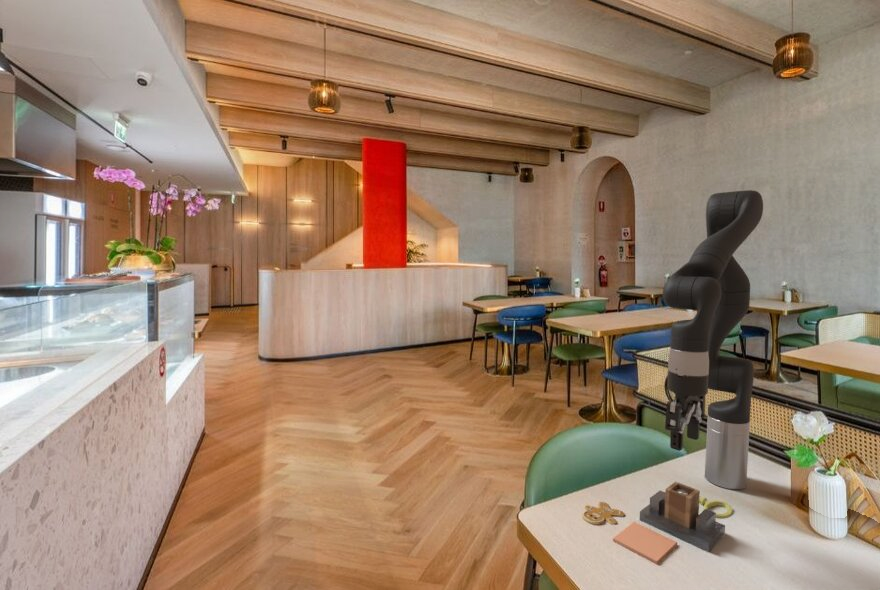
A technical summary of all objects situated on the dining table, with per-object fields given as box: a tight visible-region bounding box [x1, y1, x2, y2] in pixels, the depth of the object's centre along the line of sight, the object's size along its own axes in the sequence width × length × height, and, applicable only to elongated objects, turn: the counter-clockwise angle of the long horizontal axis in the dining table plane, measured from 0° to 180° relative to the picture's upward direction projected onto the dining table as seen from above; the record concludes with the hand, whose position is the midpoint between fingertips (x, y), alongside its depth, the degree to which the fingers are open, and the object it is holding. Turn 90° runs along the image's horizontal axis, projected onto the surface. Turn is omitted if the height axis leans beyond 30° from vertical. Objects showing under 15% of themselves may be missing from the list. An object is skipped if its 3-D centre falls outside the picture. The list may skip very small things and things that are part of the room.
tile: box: [612, 521, 678, 565], centre depth 89 cm, size 9×9×1 cm
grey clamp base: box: [639, 489, 726, 553], centre depth 94 cm, size 9×14×8 cm, turn 39°
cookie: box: [581, 501, 626, 526], centre depth 99 cm, size 8×1×10 cm
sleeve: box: [664, 481, 701, 528], centre depth 94 cm, size 5×5×6 cm
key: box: [699, 495, 733, 519], centre depth 103 cm, size 7×12×2 cm, turn 46°
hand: (684, 443), depth 93 cm, fingers open, 8 cm apart
